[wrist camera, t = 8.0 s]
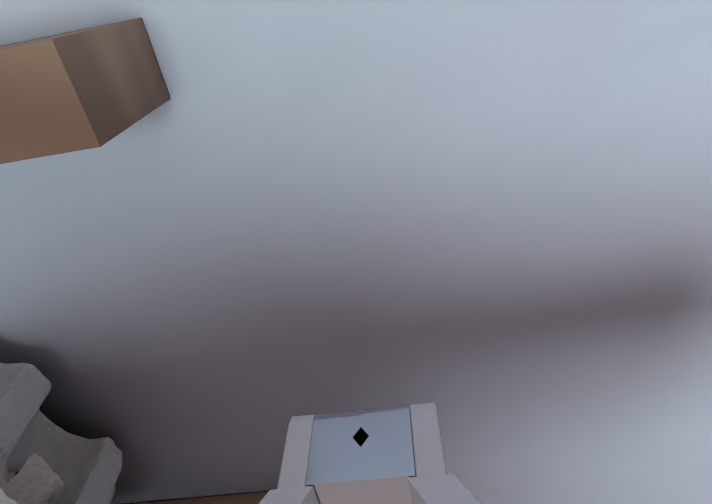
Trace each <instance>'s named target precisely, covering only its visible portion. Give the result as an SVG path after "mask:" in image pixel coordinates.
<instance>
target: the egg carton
mask: <svg viewBox="0 0 712 504" xmlns="http://www.w3.org/2000/svg"><path fill="white" fill-rule="evenodd" d="M51 387H52V385H51V383H50V381H49V380H48V379H47V378H46V377H45V376H44V375H43V374H42V373H41V372H40V371H39V370H38V369H37V368H36V367H35V366H34V365H31V364H27V363H9V364H5V363H0V504H110V502H111V500H112V498H113V496H114V493H115V490H116V488H115V483H116V480H117V478H118V476H119V474H120V471H121V469H122V451H121V450H119V449H118V448H117V447H116V446H115V444H114V442H113V440H112V439H110V438H109V437H105V438H97V439H87V438H84V437H80V436H77V435H74V434H70V433H68V432H66V431H64V430H63V429H62V428H60V427H59V426H57V425H56V424H54V423H53V422H52V421H50V420H49V419H48V418H47V417H46V416H45V415H44V414H43V413H42V412H41V411H40V410H39V408H40V406H41V404H42V402H43V401H44V399H45V398H46V396H47V395H48V393H49V392H50V390H51Z"/></svg>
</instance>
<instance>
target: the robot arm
mask: <svg viewBox="0 0 712 504" xmlns="http://www.w3.org/2000/svg"><path fill="white" fill-rule="evenodd" d="M259 504H481V503H480V502H479V501H478V500H477V499H476V498H475V496H474V495H473V494H472V493H471V492H470V491H469V490H468V489H467V488H466V486H465V485H464V484H463V483H462V482H461V481H460V480H459V479H458V478H457V476H456V475H455V474H446V469H445V462H444V456H443V449H442V443H441V436H440V429H439V423H438V416H437V409H436V405H435V402H429V403H420V404H411V405H410V404H408V405H399V406H391V407H382V408H374V409H365V410H362V411H350V412H337V413H325V414H315V415H303V416H292V418H291V420H290V422H289V425H288V430H287V436H286V442H285V447H284V453H283V458H282V464H281V470H280V475H279V481H278V486H277V489H272V490H269V492H268V493H267V494H266V495H265V496H264V498H263V499H262V500H261V501H260V503H259Z"/></svg>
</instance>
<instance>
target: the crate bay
mask: <svg viewBox="0 0 712 504" xmlns="http://www.w3.org/2000/svg"><path fill="white" fill-rule="evenodd" d="M169 99H170V96H169V93H168V91H167V88H166V85H165V82H164V79H163V77H162V74H161V71H160V68H159V66H158V63H157V60H156V57H155V55H154V52H153V49H152V46H151V43H150V41H149V38H148V35H147V32H146V30H145V27H144V24H143V21H142V19H141V18H138V19H133V20H128V21H123V22H118V23H113V24H108V25H103V26H98V27H93V28H88V29H83V30H78V31H73V32H68V33H63V34H58V35H53V36H48V37H43V38H38V39H33V40H28V41H23V42H19V43H14V44H9V45H4V46H0V164H3V163H8V162H14V161H20V160H26V159H32V158H37V157H43V156H49V155H55V154H60V153H66V152H72V151H78V150H84V149H89V148H95V147H101V146H102V145H104V144H105V143H106V142H108V141H109V140H111V139H112V138H114V137H115V136H117V135H118V134H120V133H121V132H122V131H124V130H125V129H127V128H128V127H130V126H131V125H133V124H134V123H136V122H137V121H138V120H140V119H141V118H143V117H144V116H146V115H147V114H149V113H150V112H152V111H153V110H154V109H156V108H157V107H159V106H160V105H162V104H163V103H165V102H166V101H168V100H169ZM267 493H268V492H258V493H246V494H235V495H224V496H213V497H202V498H190V499H179V500H168V501H157V502H146V503H135V504H259V503H260V501H261V500H262V499H263V498H264V496H265V495H266V494H267Z"/></svg>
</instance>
